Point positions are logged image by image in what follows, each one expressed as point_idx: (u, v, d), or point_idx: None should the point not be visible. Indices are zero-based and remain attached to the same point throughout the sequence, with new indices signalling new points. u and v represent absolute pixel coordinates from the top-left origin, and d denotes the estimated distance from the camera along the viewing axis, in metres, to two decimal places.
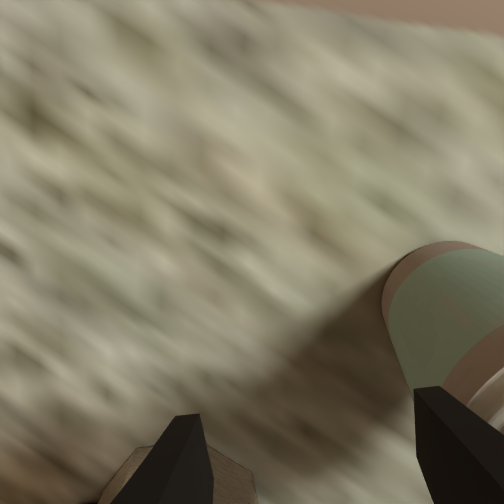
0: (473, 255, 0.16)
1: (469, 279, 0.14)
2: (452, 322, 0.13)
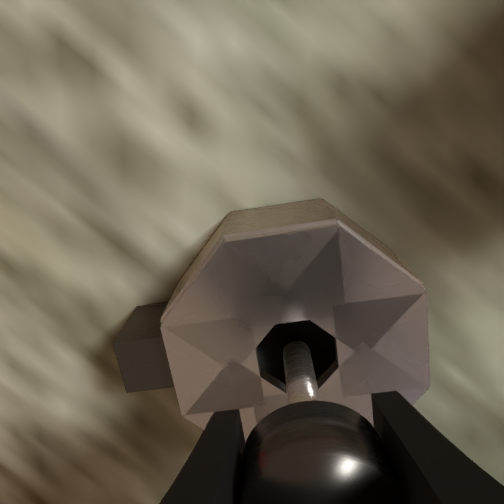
0: None
1: None
2: None
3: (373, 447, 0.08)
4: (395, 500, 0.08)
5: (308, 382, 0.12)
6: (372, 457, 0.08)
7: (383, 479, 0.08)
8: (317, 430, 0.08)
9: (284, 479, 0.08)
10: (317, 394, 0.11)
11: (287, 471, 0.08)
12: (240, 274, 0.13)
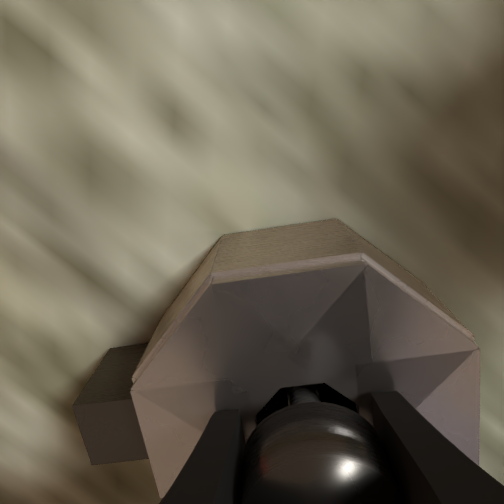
0: None
1: None
2: None
3: (374, 449, 0.08)
4: (396, 502, 0.08)
5: None
6: (373, 459, 0.08)
7: (384, 480, 0.08)
8: (318, 432, 0.08)
9: (285, 481, 0.08)
10: (317, 395, 0.11)
11: (288, 473, 0.08)
12: (234, 325, 0.10)
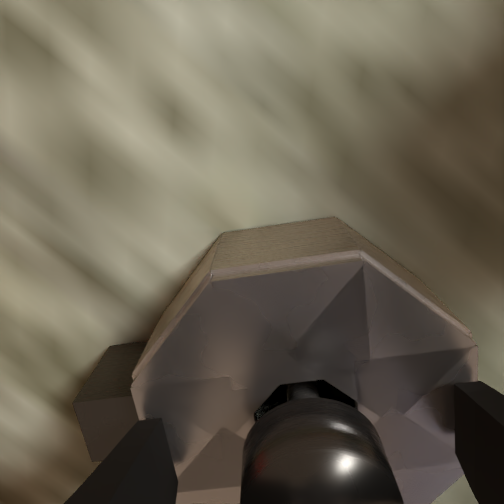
0: None
1: None
2: None
3: (372, 444, 0.08)
4: (394, 496, 0.08)
5: None
6: (371, 453, 0.08)
7: (382, 475, 0.08)
8: (316, 427, 0.08)
9: (283, 475, 0.08)
10: (316, 392, 0.12)
11: (286, 468, 0.08)
12: (233, 322, 0.10)
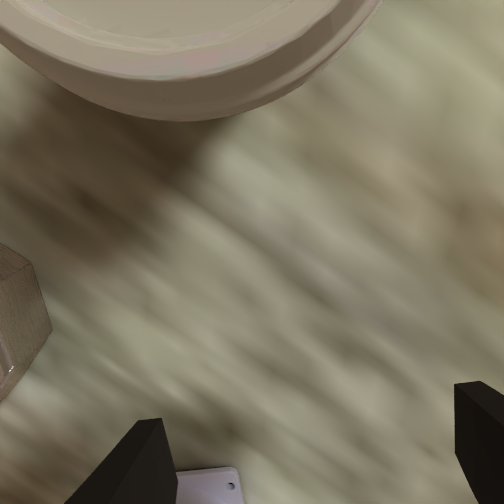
0: None
1: None
2: None
3: None
4: None
5: None
6: None
7: None
8: None
9: None
10: None
11: None
12: None
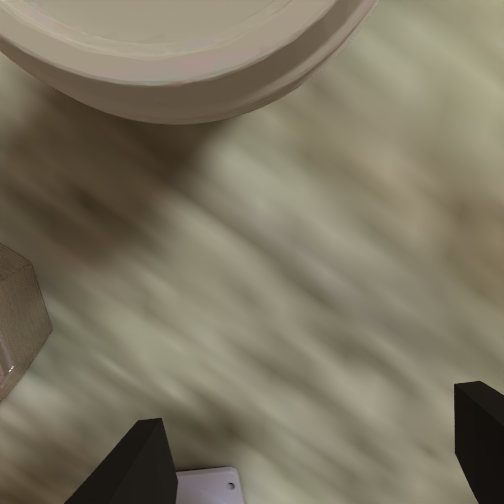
0: None
1: None
2: None
3: None
4: None
5: None
6: None
7: None
8: None
9: None
10: None
11: None
12: None
